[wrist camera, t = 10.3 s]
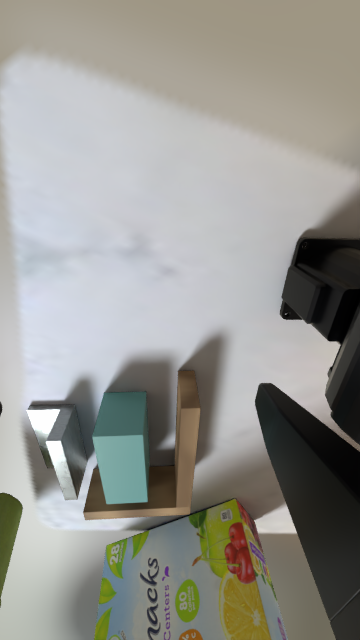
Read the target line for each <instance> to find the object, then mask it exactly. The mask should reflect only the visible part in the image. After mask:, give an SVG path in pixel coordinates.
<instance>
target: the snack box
mask: <svg viewBox="0 0 360 640" xmlns="http://www.w3.org/2000/svg"><path fill="white" fill-rule="evenodd" d="M94 640H288V637H287V634H286V630H285V627H284V623H283V620H282V617H281V613H280V610H279V606H278V602H277V599H276V595H275V592H274V588H273V585H272V581H271V578H270V574H269V571H268V567H267V564H266V560H265V557H264V553H263V550H262V546H261V543H260V539H259V536H258V532H257V528H256V525H255V522H254V520H253V519H252V518H251V517H250V516H249V514H248V513H247V512H246V511H245V510H244V508H243V507H242V506H241V505H240V504H239V502H238V501H237V500H236V499H233V500H231V501H228V502H225V503H223V504H220V505H217V506H215V507H212V508H209V509H207V510H204V511H201V512H198V513H196V514H193V515H190V516H187V517H184V518H182V519H179V520H176V521H173V522H171V523H168V524H165V525H162V526H160V527H157V528H154V529H151V530H148V531H146V532H143V533H140V534H137V535H134V536H132V537H129V538H126V539H124V540H120V541H118V542H115V543H112V544H109V545H107V546H106V552H105V560H104V568H103V575H102V583H101V591H100V598H99V606H98V614H97V622H96V629H95V638H94Z"/></svg>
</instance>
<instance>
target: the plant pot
mask: <svg viewBox="0 0 360 640" xmlns="http://www.w3.org/2000/svg"><path fill="white" fill-rule="evenodd" d="M22 509H23V507H22V504H21V503H20V501H19V500H18V499H16V498H15V497H13V496H12V495H10V494H7V493H0V598H1V594H2V590H3V586H4V582H5V578H6V573H7V570H8V566H9V562H10V558H11V554H12V550H13V546H14V542H15V538H16V534H17V530H18V527H19V523H20V518H21V515H22ZM0 606H1V599H0Z"/></svg>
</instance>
